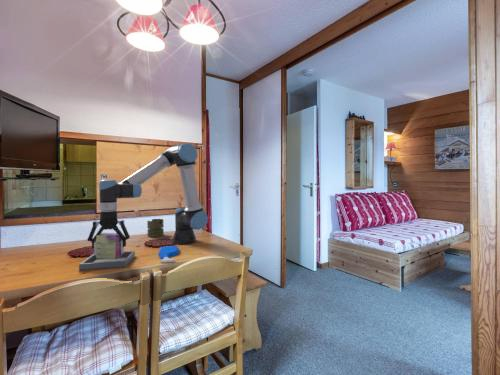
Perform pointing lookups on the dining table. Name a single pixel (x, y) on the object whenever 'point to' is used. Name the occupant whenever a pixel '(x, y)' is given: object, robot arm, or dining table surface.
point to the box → (108, 246)
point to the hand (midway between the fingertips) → (109, 253)
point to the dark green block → (155, 228)
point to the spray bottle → (168, 253)
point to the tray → (107, 262)
